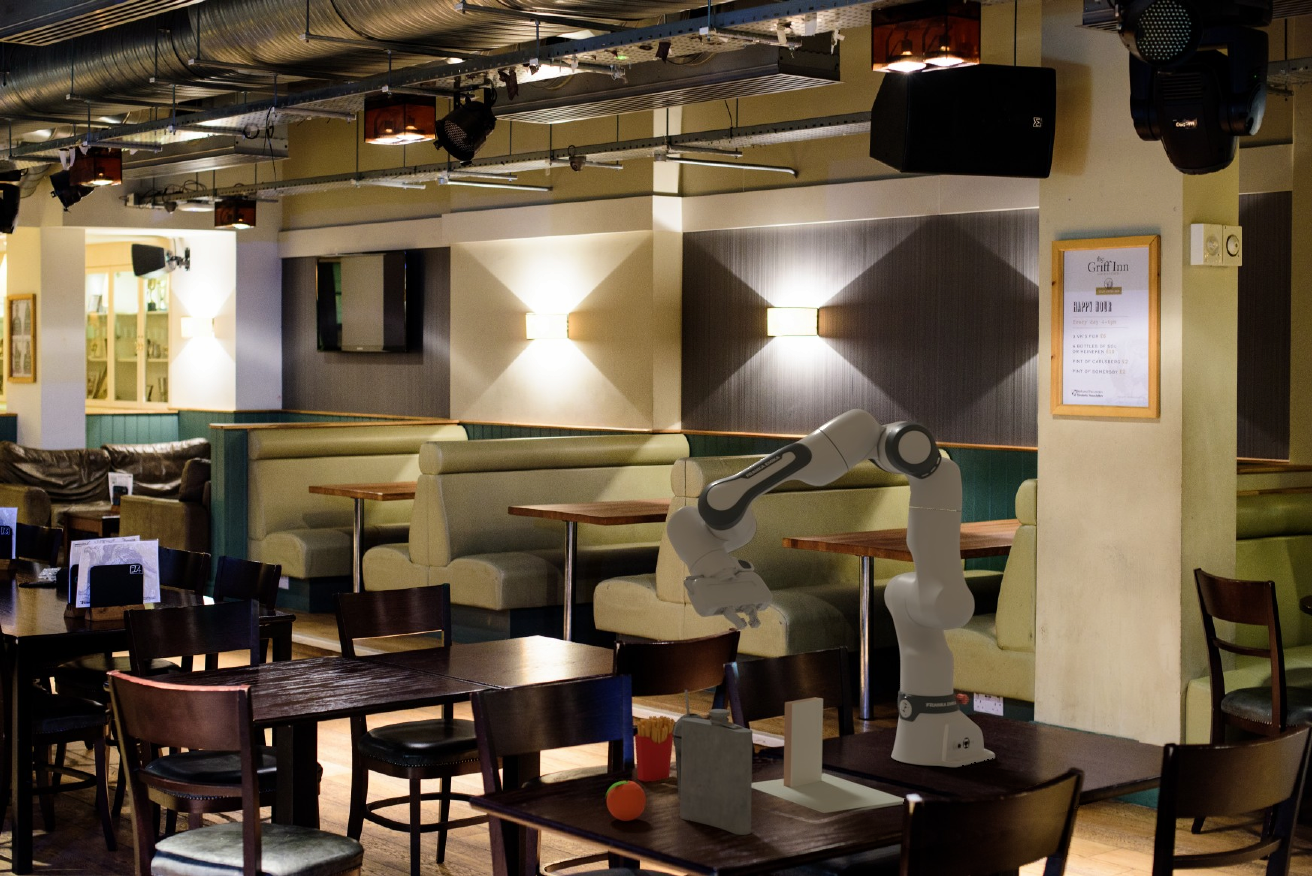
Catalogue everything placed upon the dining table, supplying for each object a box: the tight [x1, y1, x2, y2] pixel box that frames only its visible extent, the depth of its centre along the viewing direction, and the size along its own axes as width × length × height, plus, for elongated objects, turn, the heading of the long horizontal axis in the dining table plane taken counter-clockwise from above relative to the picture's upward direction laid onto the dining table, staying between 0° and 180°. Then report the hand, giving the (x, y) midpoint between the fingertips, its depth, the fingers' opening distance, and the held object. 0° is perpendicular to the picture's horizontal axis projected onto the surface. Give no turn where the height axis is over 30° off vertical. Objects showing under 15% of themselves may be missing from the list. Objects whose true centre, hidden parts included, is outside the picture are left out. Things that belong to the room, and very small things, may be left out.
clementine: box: [604, 779, 647, 822], centre depth 270 cm, size 8×7×7 cm
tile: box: [783, 696, 824, 787], centre depth 298 cm, size 2×9×16 cm, turn 134°
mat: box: [752, 772, 905, 814], centre depth 291 cm, size 20×25×1 cm
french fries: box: [634, 715, 676, 782], centre depth 302 cm, size 8×4×12 cm, turn 126°
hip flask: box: [679, 708, 753, 836], centre depth 268 cm, size 16×4×20 cm, turn 43°
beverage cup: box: [672, 689, 705, 799], centre depth 288 cm, size 7×7×20 cm
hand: (750, 627), depth 308 cm, fingers open, 3 cm apart
